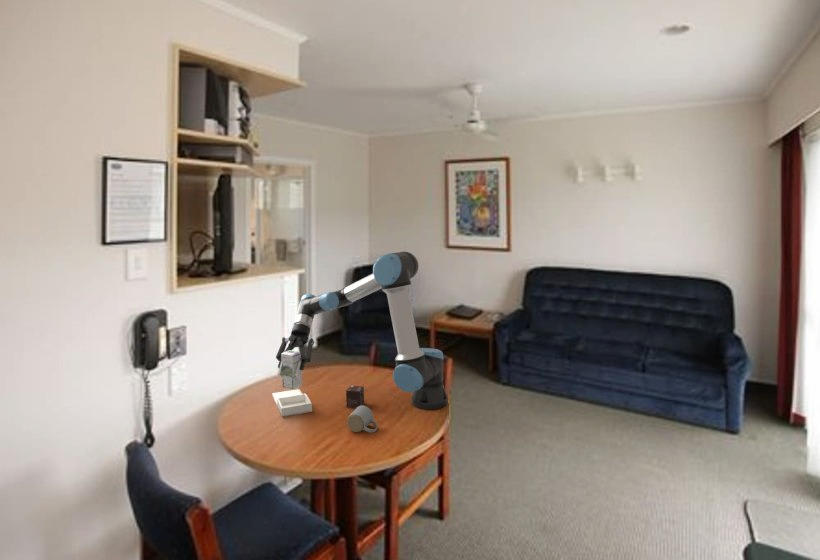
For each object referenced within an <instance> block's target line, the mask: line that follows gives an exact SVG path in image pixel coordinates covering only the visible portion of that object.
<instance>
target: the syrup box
mask: <svg viewBox="0 0 820 560" xmlns="http://www.w3.org/2000/svg"><path fill="white" fill-rule="evenodd" d="M284 351H285V350H284ZM299 361H302V360H301V353H300V350H288V351H285V352H283V353H281V362H282V377H281V378H282V388H286V389H290V390H296V389H298V388H299V387H301V386H302V385H303V379H302V378H303V377H302V372H301V373H300V377H299V378H297V377H296V376H295V374H296V371H297V367H298V363H299Z"/></svg>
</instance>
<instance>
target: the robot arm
mask: <svg viewBox="0 0 820 560" xmlns="http://www.w3.org/2000/svg"><path fill="white" fill-rule="evenodd" d="M419 265H420V264H419V261H418V259H417V257H416V256H415V255H414V254H413V253H411V252H408V251H400V252H399V251H398V252H390V253H389V252H388V253H386V254H382V255H381V256H379V257H378V258H377V259H376V261H375V262H374V263H373V266H372V273H371V274H368V275H367V276H364V277H363V278H361V279H359V280H357V281H354V282H353V283H351V284H349V285H347V286H345V287H343V288H341V289H339V290H335V291H328V292H324V293H322V294H319V295H314V294H311V293H307V294H303V295H302V296H301V299H300V301H299V304H298V307H297V308H298V309H297V311H296V315H295V318H294V321H293V325H292V328H291V331H290V336H289V337H284V336H283V337H282V339H281V344H280V347H279V348H278V350H277V353H276V355H275V359H276V360H277V361H278V364H277V369H278V371H277V376H278V377H279V378H282V362H281V353H283V352H285V351H288V350H292V351H294V349H295V348H299V352H300V354H301V361H299V363H298V367H297V371H296V374H295V376H296V377H297V378H299V377H300V373H301V374H302V371H303V370H304V369H305V366H306V363H311V359H312V353H313V346H314V345H315V340H314V339H313V338H309V336H310V333H311V329H312V325H313V322H314V318H315V316H316V315H318V314H322V313H325V312H328V311H333V310H336V309H339V308H343V307H348V306H351V305H352V304H353V303H354V302H357V301H358V300H360V299H362V298H364V297H367V296H369V295H371V294H372V293H373V294H374V293H375V292H377V291H379V290H381V291H382V292H383V293H385V294H386V297H387V302H388V307H389V314H390V317H391V324H392V328H393V335H394V340H395V346H396V348H397V349H396V350H397V355H396V357H395V359H394V361H395V368H394V370H393V372H392V379H393V382H394V385H395V386H396V387H397V388H399V389H400V390H401V391H403V392H406V393H412V394H411V395H412V396H411V405H413V406H414V407H416V408H418V409H421V410H438V409H441V408H444V407H446V406H447V405H448V395H447V392H446V389H445V387H444V360H445V359H444V353H443V351H442V350H440V349H437V348H431V347H420V345H419V339H418V334H417V330H416V328H417V327H416V323H415V317H414V314H413V307H412V303H411V298H410V293H409V292H410V291H409V289H410V287H411V286H412V281H411V279H412V278H414V277H415V276H416V274H417V273H418V271H419ZM306 344H307V348H305V345H306ZM305 349H306V352H305Z"/></svg>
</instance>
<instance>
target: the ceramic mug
mask: <svg viewBox="0 0 820 560" xmlns="http://www.w3.org/2000/svg"><path fill="white" fill-rule="evenodd" d="M346 424H347V428H349V430H350V431H352V432H353V433H360V432H362V431H365V432H367V433H371V434H372V433H375V432H376V431H377V429H378V424H377V422H376V421H375V420H374V414H373V411H372V410H371V408H369V407H368V406H366V405H362V406H358V407H357V408H355V409H354V410H353V411H352V413H350V414H349V416H348V417H347V419H346ZM371 424H372V425H373V426H374V428H372V429H371V428H369V427H368V426H369V425H371Z"/></svg>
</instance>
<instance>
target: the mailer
mask: <svg viewBox="0 0 820 560" xmlns="http://www.w3.org/2000/svg"><path fill="white" fill-rule="evenodd" d="M271 394H272V398H273V400H274V403H275V404H276V406H277V410H278V412H279V414H280V416H281V418H283V417H289V415H290V416H294V415H295V416H296V415H301V414H306V413H307V414H308V413H312V412H313V403H312V402H311V399H310V398H309V396H308V394H306V393H302V392H301V390H300V388H299V389H298V388H296V389H290V390H285V391H279V392H273V393H271Z"/></svg>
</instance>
